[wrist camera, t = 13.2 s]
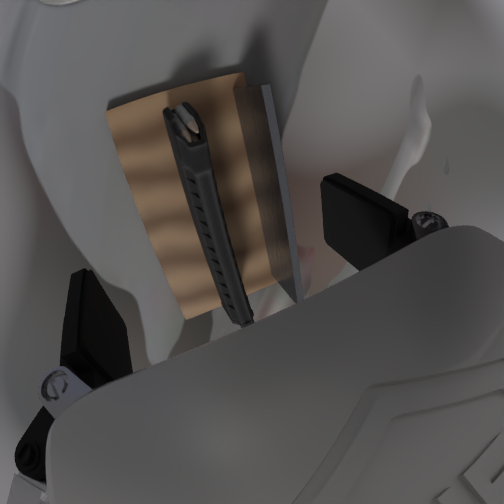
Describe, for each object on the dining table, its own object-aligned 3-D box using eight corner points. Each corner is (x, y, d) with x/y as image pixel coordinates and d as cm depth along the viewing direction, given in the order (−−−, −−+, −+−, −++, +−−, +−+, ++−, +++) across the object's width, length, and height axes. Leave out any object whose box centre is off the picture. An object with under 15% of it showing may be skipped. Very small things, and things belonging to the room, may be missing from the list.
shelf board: (106, 111, 30) (105, 111, 29) (239, 72, 34) (243, 71, 33) (184, 314, 49) (186, 319, 48) (279, 274, 53) (283, 279, 52)
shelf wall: (232, 88, 34) (261, 85, 26) (239, 87, 34) (269, 83, 27) (271, 274, 50) (297, 306, 43) (276, 272, 50) (303, 303, 43)
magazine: (262, 338, 43) (241, 155, 20) (241, 346, 42) (198, 169, 20) (220, 259, 54) (185, 96, 31) (203, 265, 53) (158, 104, 30)
